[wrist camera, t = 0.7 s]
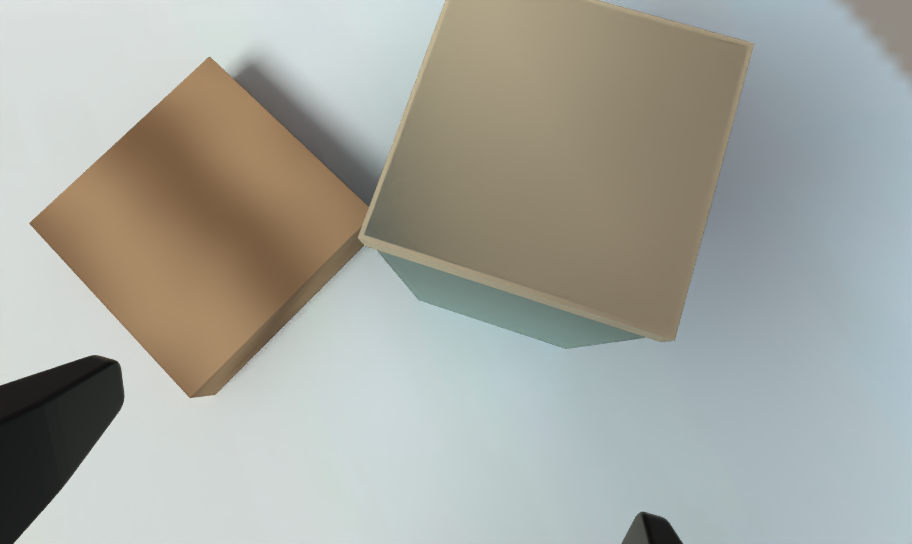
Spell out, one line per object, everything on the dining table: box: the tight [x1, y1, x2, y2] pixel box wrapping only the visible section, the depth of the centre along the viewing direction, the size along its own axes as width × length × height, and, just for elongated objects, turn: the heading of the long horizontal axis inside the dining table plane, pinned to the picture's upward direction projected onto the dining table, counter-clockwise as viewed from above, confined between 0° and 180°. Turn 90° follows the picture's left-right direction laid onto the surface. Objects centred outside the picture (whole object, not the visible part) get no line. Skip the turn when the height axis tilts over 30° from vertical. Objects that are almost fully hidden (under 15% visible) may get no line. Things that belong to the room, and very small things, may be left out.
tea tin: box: [358, 0, 754, 349], centre depth 17 cm, size 7×7×12 cm
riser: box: [29, 57, 369, 398], centre depth 23 cm, size 10×10×2 cm
